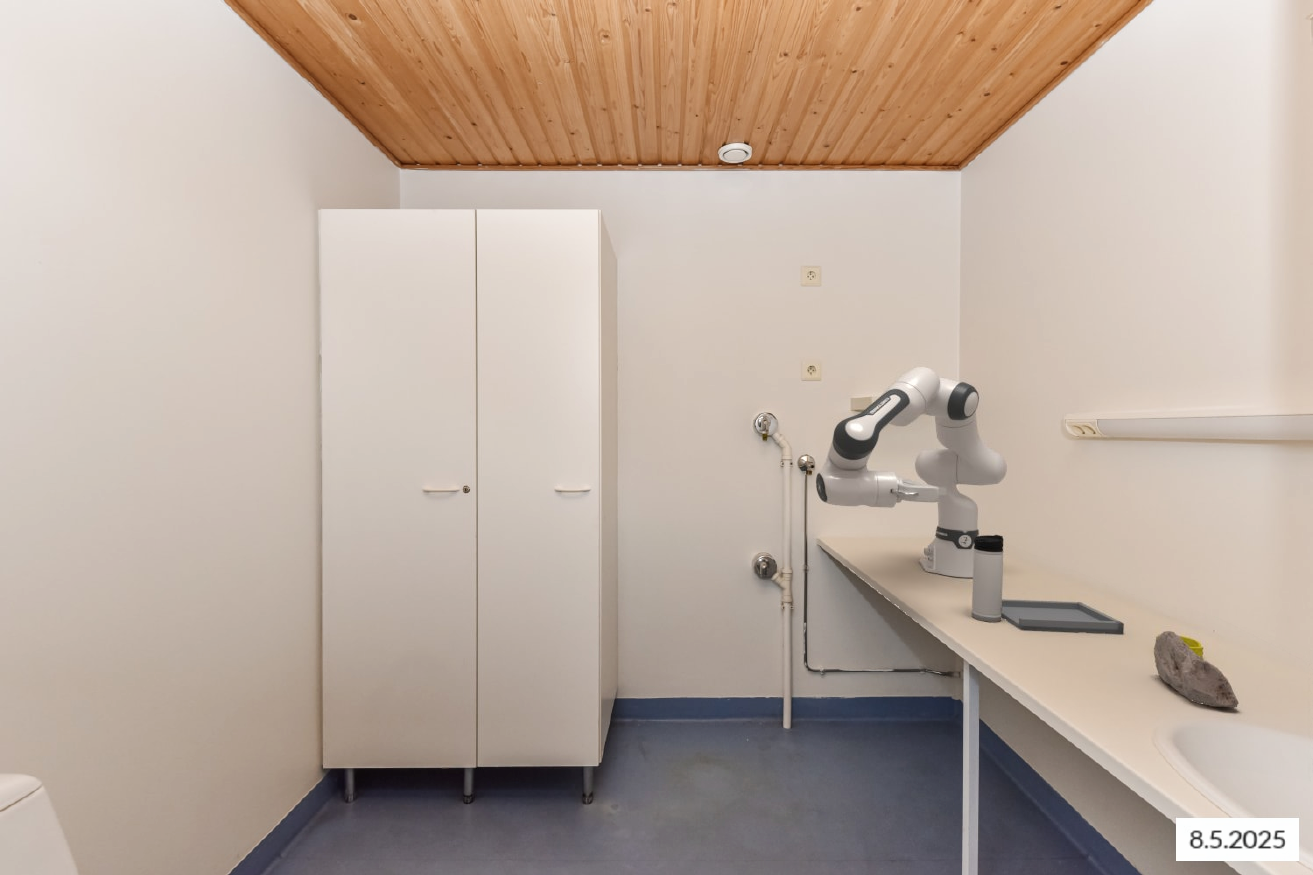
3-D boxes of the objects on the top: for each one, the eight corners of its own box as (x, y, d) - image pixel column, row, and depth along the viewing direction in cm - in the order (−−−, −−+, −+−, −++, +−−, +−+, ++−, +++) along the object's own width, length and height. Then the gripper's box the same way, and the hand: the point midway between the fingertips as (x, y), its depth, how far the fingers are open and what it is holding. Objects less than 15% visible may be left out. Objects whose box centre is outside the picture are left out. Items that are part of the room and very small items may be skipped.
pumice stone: (1244, 715, 99) (1246, 654, 99) (1188, 708, 101) (1190, 649, 101) (1193, 678, 113) (1195, 625, 113) (1144, 672, 116) (1146, 620, 115)
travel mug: (1008, 621, 145) (1011, 537, 144) (986, 623, 143) (988, 538, 142) (987, 613, 151) (989, 533, 150) (965, 615, 149) (968, 534, 148)
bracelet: (1159, 659, 123) (1159, 642, 123) (1151, 646, 130) (1152, 631, 130) (1207, 666, 119) (1207, 650, 119) (1196, 653, 126) (1196, 637, 126)
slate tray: (988, 608, 154) (989, 598, 154) (1079, 612, 153) (1080, 602, 153) (1021, 630, 139) (1021, 619, 138) (1123, 634, 137) (1123, 623, 137)
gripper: (899, 480, 138) (962, 481, 136) (874, 473, 158) (929, 474, 157) (898, 507, 138) (961, 509, 137) (873, 497, 158) (928, 499, 157)
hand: (944, 491), depth 147 cm, fingers closed
